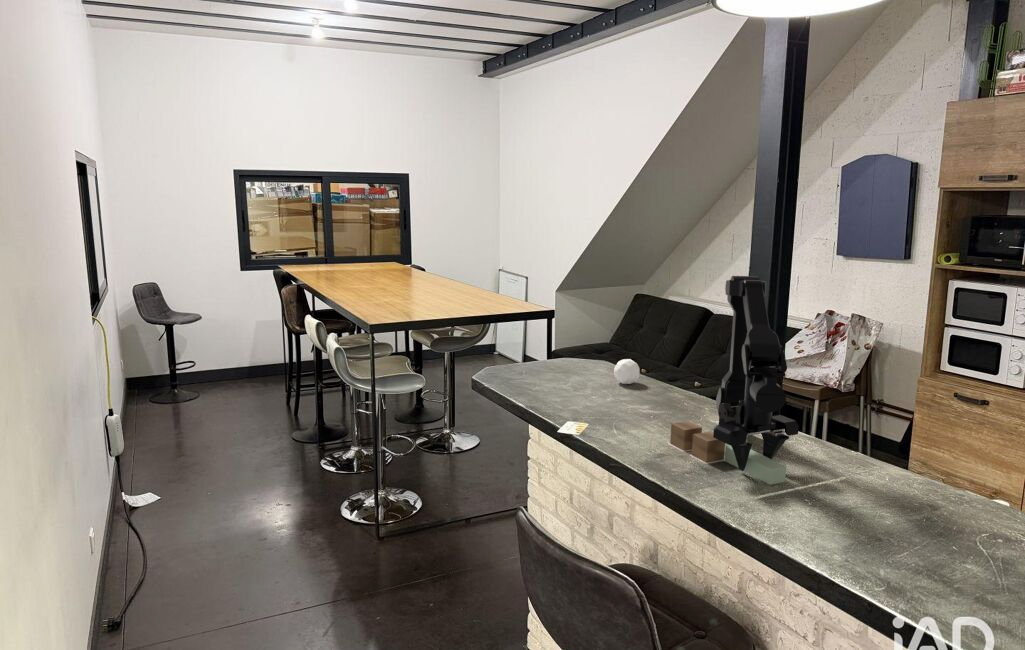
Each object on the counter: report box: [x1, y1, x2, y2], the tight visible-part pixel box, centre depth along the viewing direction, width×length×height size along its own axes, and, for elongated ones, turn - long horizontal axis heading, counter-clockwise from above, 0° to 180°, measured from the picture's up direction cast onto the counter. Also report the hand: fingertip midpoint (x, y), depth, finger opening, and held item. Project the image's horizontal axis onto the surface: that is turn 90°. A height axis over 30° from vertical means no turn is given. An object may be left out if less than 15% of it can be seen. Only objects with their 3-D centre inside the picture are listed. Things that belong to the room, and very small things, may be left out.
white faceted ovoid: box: [613, 358, 640, 385], centre depth 220 cm, size 8×8×12 cm
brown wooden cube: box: [669, 420, 703, 451], centre depth 163 cm, size 5×5×5 cm
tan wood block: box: [691, 431, 726, 463], centre depth 156 cm, size 5×5×5 cm
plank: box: [724, 445, 787, 485], centre depth 149 cm, size 4×14×4 cm, turn 23°
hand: (753, 467), depth 149 cm, fingers open, 6 cm apart
